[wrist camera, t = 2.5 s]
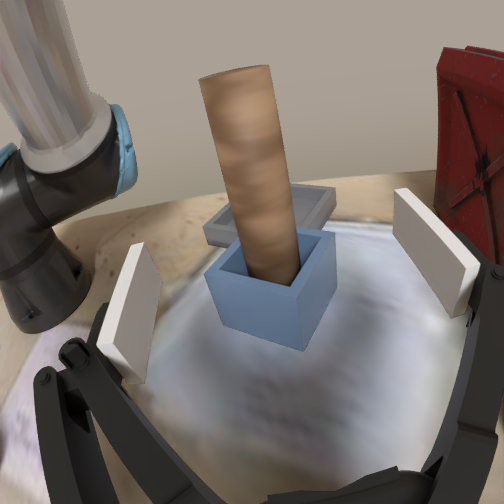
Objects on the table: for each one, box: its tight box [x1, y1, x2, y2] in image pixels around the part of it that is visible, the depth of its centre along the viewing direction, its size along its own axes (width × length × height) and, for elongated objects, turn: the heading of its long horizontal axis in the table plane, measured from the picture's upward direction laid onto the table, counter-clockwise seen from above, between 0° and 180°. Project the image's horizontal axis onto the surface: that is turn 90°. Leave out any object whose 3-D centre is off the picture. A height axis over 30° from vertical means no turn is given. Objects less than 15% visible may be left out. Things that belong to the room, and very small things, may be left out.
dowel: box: [199, 65, 302, 287], centre depth 26 cm, size 5×5×22 cm
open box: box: [204, 227, 337, 351], centre depth 31 cm, size 9×9×7 cm
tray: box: [203, 183, 336, 248], centre depth 45 cm, size 14×14×3 cm
